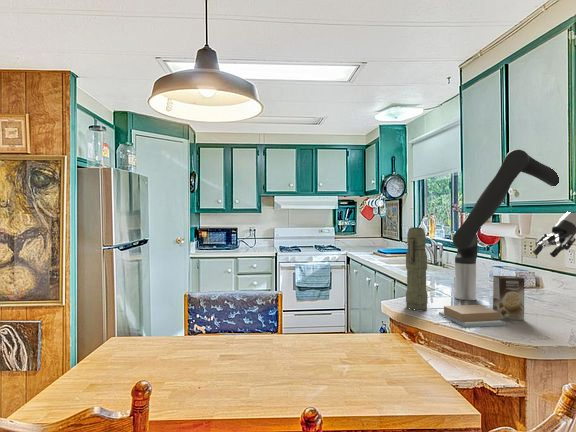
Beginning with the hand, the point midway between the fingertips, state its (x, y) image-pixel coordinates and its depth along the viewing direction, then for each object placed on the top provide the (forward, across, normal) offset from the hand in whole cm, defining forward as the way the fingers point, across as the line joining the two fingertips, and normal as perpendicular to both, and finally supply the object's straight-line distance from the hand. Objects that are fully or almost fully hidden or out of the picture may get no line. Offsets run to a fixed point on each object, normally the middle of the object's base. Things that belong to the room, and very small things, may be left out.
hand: (543, 254), depth 149 cm
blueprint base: (+40, 0, -5) cm, 40 cm away
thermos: (+48, -20, -13) cm, 54 cm away
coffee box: (+28, 0, +7) cm, 29 cm away
